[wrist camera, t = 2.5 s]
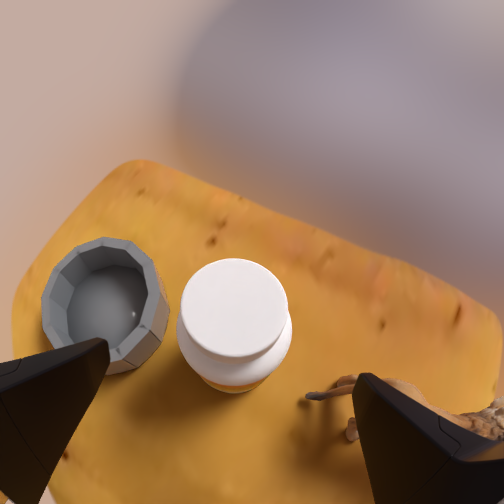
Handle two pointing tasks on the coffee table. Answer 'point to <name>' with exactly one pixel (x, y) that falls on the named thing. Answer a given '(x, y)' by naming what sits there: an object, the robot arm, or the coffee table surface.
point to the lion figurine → (483, 423)
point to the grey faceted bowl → (107, 301)
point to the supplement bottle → (234, 324)
